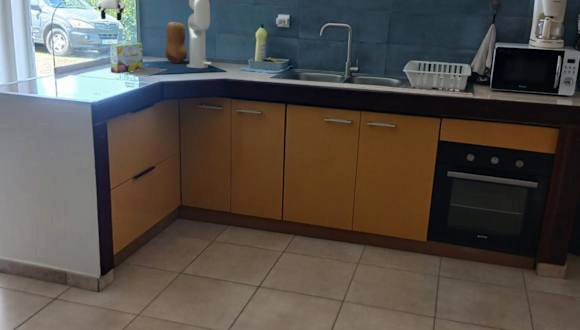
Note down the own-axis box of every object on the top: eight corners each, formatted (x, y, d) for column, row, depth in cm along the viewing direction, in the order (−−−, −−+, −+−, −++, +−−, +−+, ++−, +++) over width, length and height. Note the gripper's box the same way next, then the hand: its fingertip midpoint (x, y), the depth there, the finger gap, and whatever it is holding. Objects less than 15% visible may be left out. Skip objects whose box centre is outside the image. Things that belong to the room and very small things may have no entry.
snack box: (118, 73, 329) (117, 45, 324) (110, 72, 331) (109, 44, 326) (143, 69, 347) (142, 42, 342) (135, 68, 349) (134, 41, 345)
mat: (167, 70, 346) (167, 69, 346) (148, 76, 324) (148, 75, 323) (145, 68, 349) (145, 67, 349) (124, 74, 327) (124, 73, 327)
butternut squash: (190, 62, 380) (189, 21, 372) (183, 65, 367) (183, 23, 360) (168, 60, 382) (168, 20, 374) (161, 63, 369) (160, 22, 361)
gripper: (128, -12, 329) (128, 20, 334) (100, -14, 333) (101, 18, 338) (120, -12, 322) (121, 21, 327) (92, -14, 326) (93, 18, 331)
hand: (111, 19), depth 333 cm, fingers open, 9 cm apart
